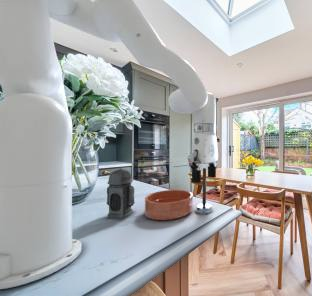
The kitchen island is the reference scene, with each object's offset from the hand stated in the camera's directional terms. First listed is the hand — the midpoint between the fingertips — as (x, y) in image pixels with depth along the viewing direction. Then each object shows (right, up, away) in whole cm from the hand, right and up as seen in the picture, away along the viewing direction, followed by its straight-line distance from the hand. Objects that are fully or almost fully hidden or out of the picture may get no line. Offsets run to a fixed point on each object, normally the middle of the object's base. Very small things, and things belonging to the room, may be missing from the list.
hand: (204, 179), depth 58 cm
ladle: (0, -11, 0) cm, 11 cm away
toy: (-26, -11, -4) cm, 29 cm away
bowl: (-12, -11, -1) cm, 16 cm away
